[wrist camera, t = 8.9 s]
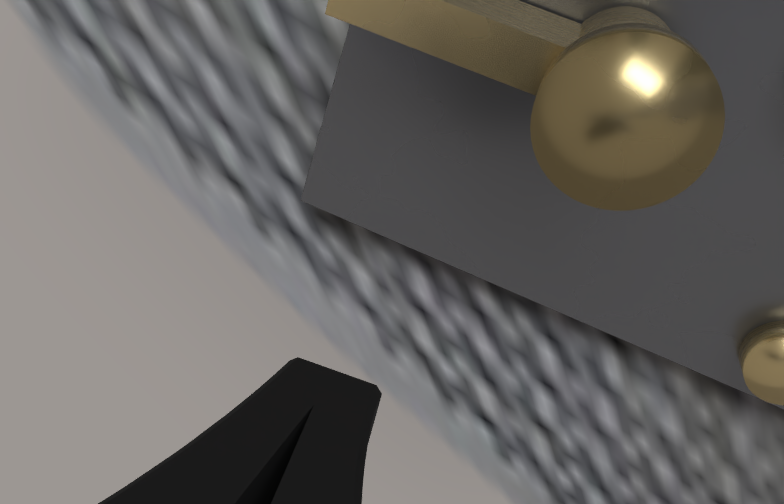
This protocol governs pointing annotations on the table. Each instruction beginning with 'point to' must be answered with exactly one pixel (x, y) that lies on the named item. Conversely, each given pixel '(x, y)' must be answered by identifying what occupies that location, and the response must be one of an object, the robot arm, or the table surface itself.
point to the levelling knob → (578, 88)
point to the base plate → (567, 216)
